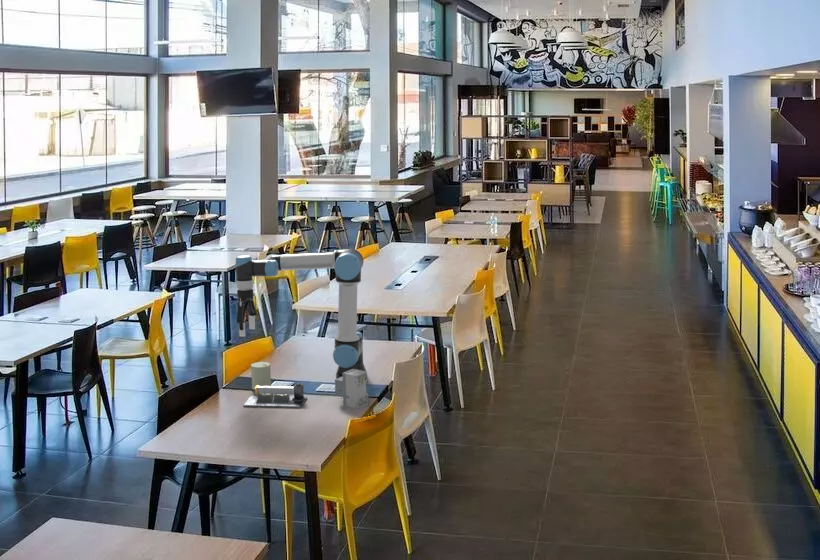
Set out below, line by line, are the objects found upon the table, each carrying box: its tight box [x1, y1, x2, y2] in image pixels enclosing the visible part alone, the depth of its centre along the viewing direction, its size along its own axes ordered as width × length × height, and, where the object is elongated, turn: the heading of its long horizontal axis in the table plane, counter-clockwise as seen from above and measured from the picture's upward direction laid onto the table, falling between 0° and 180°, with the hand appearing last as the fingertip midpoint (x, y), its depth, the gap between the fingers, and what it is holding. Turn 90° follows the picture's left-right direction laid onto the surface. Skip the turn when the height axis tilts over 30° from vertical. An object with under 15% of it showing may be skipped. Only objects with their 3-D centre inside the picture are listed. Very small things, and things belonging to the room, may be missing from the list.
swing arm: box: [254, 382, 305, 399], centre depth 425 cm, size 22×4×7 cm, turn 83°
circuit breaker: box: [334, 369, 369, 409], centre depth 419 cm, size 8×14×15 cm, turn 55°
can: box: [250, 361, 272, 391], centre depth 443 cm, size 9×9×12 cm
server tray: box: [242, 394, 308, 409], centre depth 422 cm, size 26×13×3 cm, turn 83°
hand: (247, 332), depth 442 cm, fingers open, 13 cm apart
